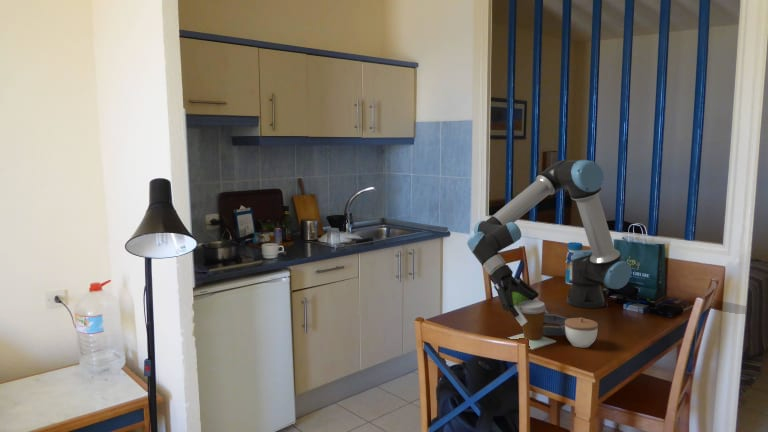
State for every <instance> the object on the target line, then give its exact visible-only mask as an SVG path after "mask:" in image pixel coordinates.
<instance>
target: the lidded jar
mask: <svg viewBox="0 0 768 432" xmlns="http://www.w3.org/2000/svg"><path fill="white" fill-rule="evenodd" d="M598 328H599V323H598V322H597V321H595V320H592V319H588V318H584V317H570V319H566V320H565V334H566V335H565V336H566V337H565V338H566V339H567V340H568V341H569V343H570V344H571V346H573V347H576V348H581V349H583V348H584V349H585V348H589V347H590V346H591V345H592V344H593V343H594V342H595V341H596V340H597V339H596V338H597V336H598V330H599V329H598Z"/></svg>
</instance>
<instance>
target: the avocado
mask: <svg viewBox="0 0 768 432" xmlns="http://www.w3.org/2000/svg"><path fill="white" fill-rule="evenodd" d="M512 297H513V303H514V306H517V308H518V306H519V303H520V302H523V301H528V300H530V299H528V298H526V297H525V296H523V295H521V294H520V293H518V292H512ZM514 306H513V307H514Z"/></svg>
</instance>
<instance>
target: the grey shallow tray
mask: <svg viewBox="0 0 768 432" xmlns="http://www.w3.org/2000/svg"><path fill="white" fill-rule="evenodd" d="M570 318H571V317H570ZM570 318H569V317H566V316H561V315H558V314H555V313H554V314H552V313H547V314H546V315H544V324H556V325H557V326H556V325H543V336H550V337H551V336H554V337H555V336H557V337H562V336H566V334H565V320H566V319H570ZM558 325H559V326H558Z"/></svg>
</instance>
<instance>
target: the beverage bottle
mask: <svg viewBox="0 0 768 432" xmlns="http://www.w3.org/2000/svg"><path fill="white" fill-rule="evenodd" d="M567 250H568V251H567V253H566V256H565V259H566V260H565V278H564V279H565V281H564V282H565V284H567V285H570V286H572V259H573V253H574V252H576V251H582V250H583V243H582V242H578V241H577V242H576V241H574V242H573V241H571V242H568V243H567Z"/></svg>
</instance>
